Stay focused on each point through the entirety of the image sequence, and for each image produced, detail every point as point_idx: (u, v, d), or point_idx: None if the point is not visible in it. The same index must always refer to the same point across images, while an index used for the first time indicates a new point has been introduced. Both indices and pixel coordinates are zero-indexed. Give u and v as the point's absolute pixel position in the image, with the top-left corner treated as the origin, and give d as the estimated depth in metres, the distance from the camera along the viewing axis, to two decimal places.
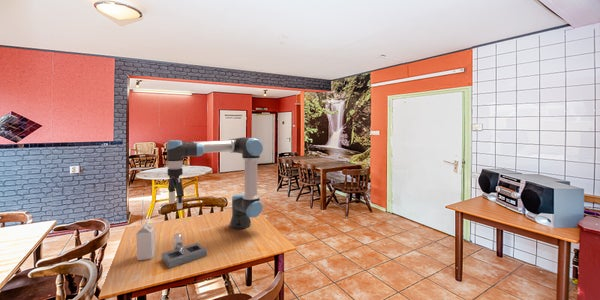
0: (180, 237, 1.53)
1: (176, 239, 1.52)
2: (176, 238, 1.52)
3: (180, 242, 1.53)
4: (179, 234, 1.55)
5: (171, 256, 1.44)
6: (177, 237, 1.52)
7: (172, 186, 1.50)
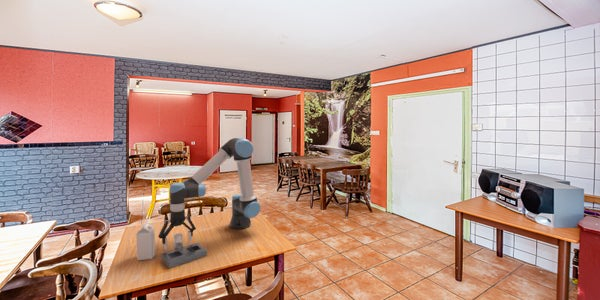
0: (180, 237, 1.53)
1: (176, 239, 1.52)
2: (176, 238, 1.52)
3: (180, 242, 1.53)
4: (179, 234, 1.55)
5: (171, 256, 1.44)
6: (177, 237, 1.52)
7: (185, 226, 1.57)
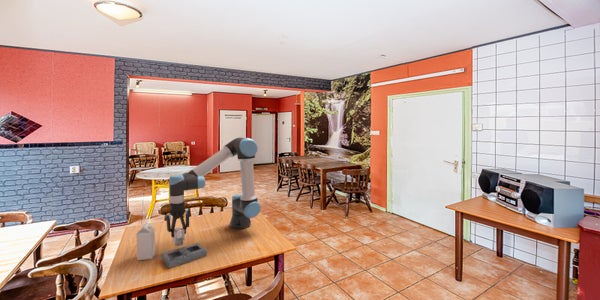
0: (180, 232, 1.53)
1: (176, 234, 1.52)
2: (176, 233, 1.52)
3: (180, 237, 1.53)
4: (179, 229, 1.55)
5: (171, 256, 1.44)
6: (177, 232, 1.52)
7: (181, 221, 1.55)
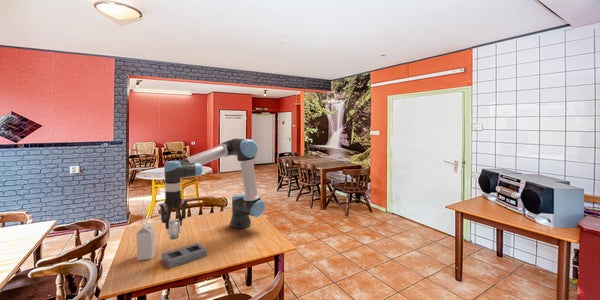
0: (176, 224, 1.40)
1: (171, 226, 1.39)
2: (171, 225, 1.39)
3: (176, 229, 1.40)
4: (175, 221, 1.41)
5: (171, 256, 1.44)
6: (172, 224, 1.39)
7: (176, 211, 1.42)
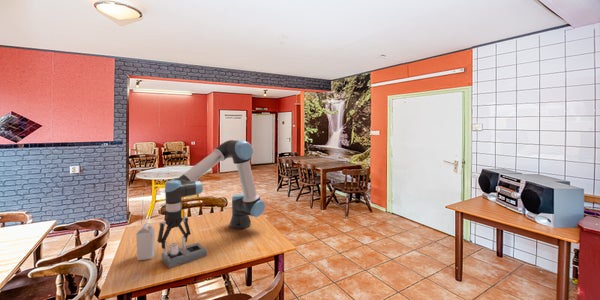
0: (176, 247, 1.40)
1: (172, 250, 1.39)
2: (172, 248, 1.39)
3: (176, 253, 1.40)
4: (175, 244, 1.42)
5: None
6: (173, 247, 1.39)
7: (180, 229, 1.43)
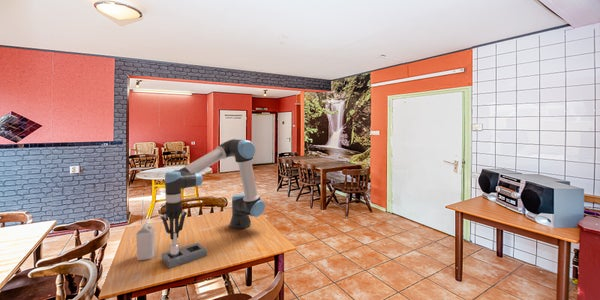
0: (176, 247, 1.40)
1: (172, 250, 1.39)
2: (172, 248, 1.39)
3: (176, 253, 1.41)
4: None
5: None
6: (173, 247, 1.39)
7: (175, 222, 1.41)
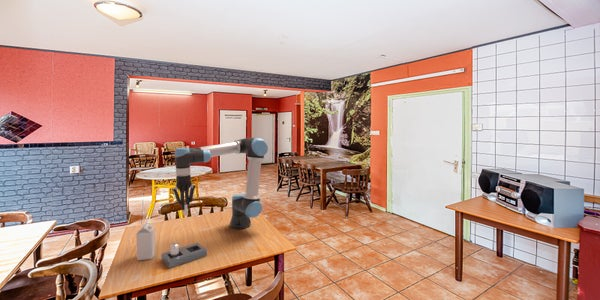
0: (176, 247, 1.40)
1: (172, 249, 1.39)
2: (172, 248, 1.39)
3: (176, 253, 1.41)
4: (175, 244, 1.42)
5: None
6: (173, 247, 1.39)
7: (185, 195, 1.53)
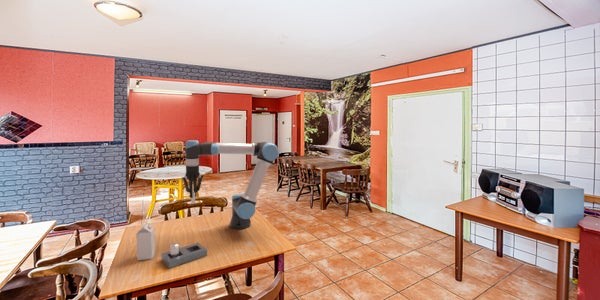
0: (176, 247, 1.40)
1: (172, 250, 1.39)
2: (172, 248, 1.39)
3: (176, 253, 1.41)
4: (175, 244, 1.42)
5: None
6: (173, 247, 1.39)
7: (193, 184, 1.66)
